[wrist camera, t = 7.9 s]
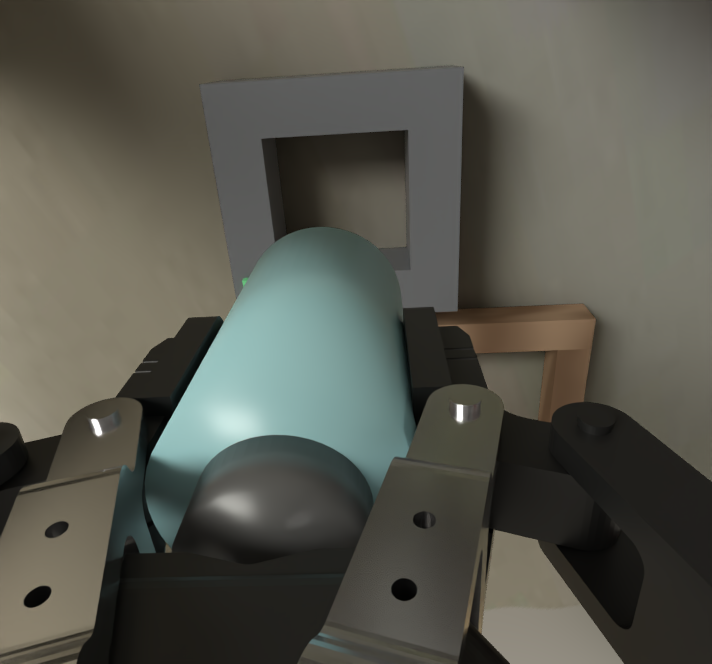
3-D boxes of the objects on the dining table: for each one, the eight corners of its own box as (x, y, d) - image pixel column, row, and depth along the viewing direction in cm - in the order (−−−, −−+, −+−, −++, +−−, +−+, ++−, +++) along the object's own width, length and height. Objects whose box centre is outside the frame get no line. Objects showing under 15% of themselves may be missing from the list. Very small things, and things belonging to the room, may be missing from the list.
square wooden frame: (583, 303, 31) (595, 319, 29) (563, 445, 35) (573, 466, 33) (404, 311, 31) (406, 326, 30) (407, 450, 36) (409, 471, 34)
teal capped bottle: (399, 222, 15) (432, 436, 6) (403, 364, 17) (433, 666, 8) (236, 231, 15) (69, 449, 7) (260, 370, 17) (153, 669, 9)
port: (452, 65, 26) (465, 67, 22) (448, 285, 30) (458, 314, 27) (220, 80, 26) (196, 84, 23) (253, 293, 31) (238, 324, 28)
